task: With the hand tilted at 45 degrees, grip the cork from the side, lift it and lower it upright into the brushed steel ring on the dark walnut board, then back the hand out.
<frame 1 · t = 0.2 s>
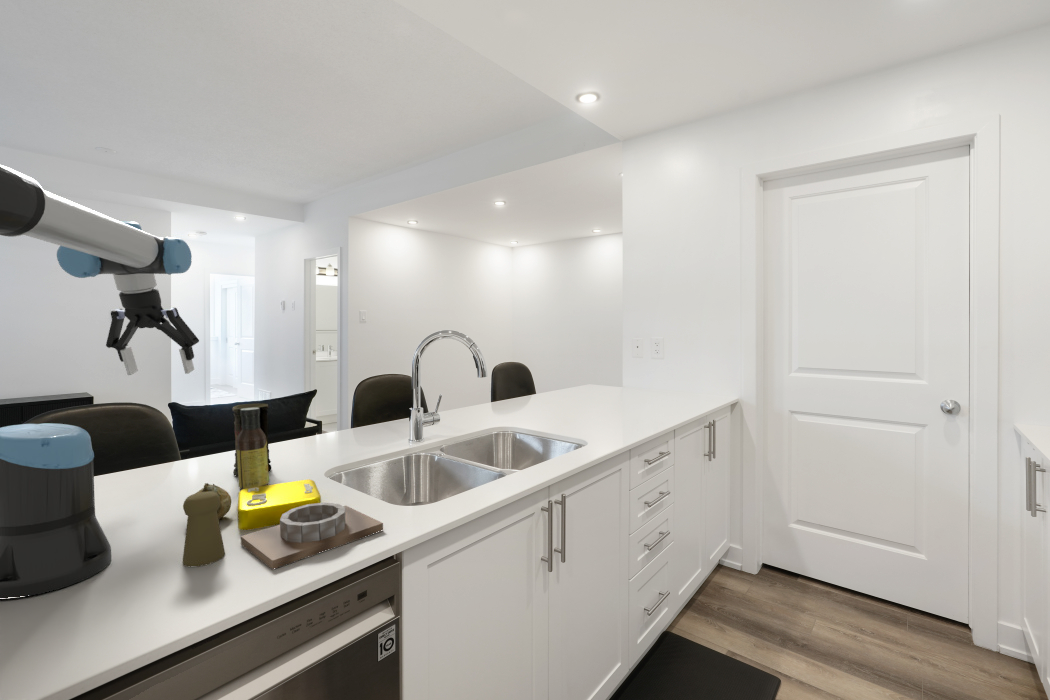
hand: (161, 372, 124), 28 cm above the worktop, tool tilted 20°, fingers open, 13 cm apart
ring stand: (314, 537, 91), on the worktop
cork: (204, 559, 83), on the worktop
onion: (210, 521, 100), on the worktop
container: (252, 473, 133), on the worktop
element tile: (279, 514, 104), on the worktop
sauce bottle: (254, 493, 116), on the worktop
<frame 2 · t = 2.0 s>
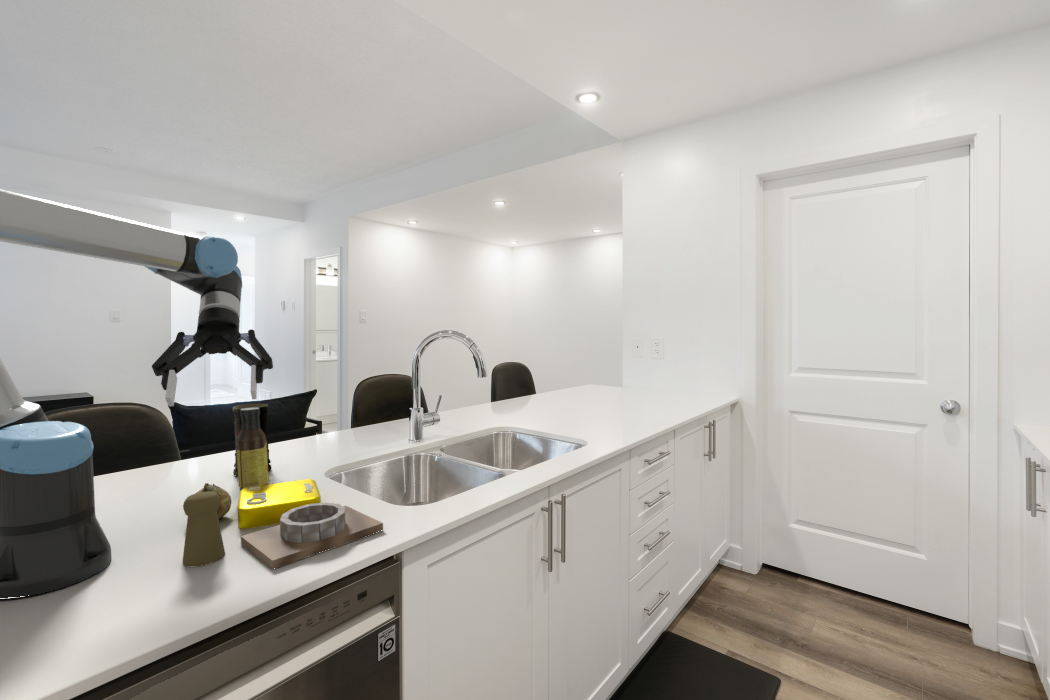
hand: (212, 398, 93), 25 cm above the worktop, tool tilted 45°, fingers open, 13 cm apart
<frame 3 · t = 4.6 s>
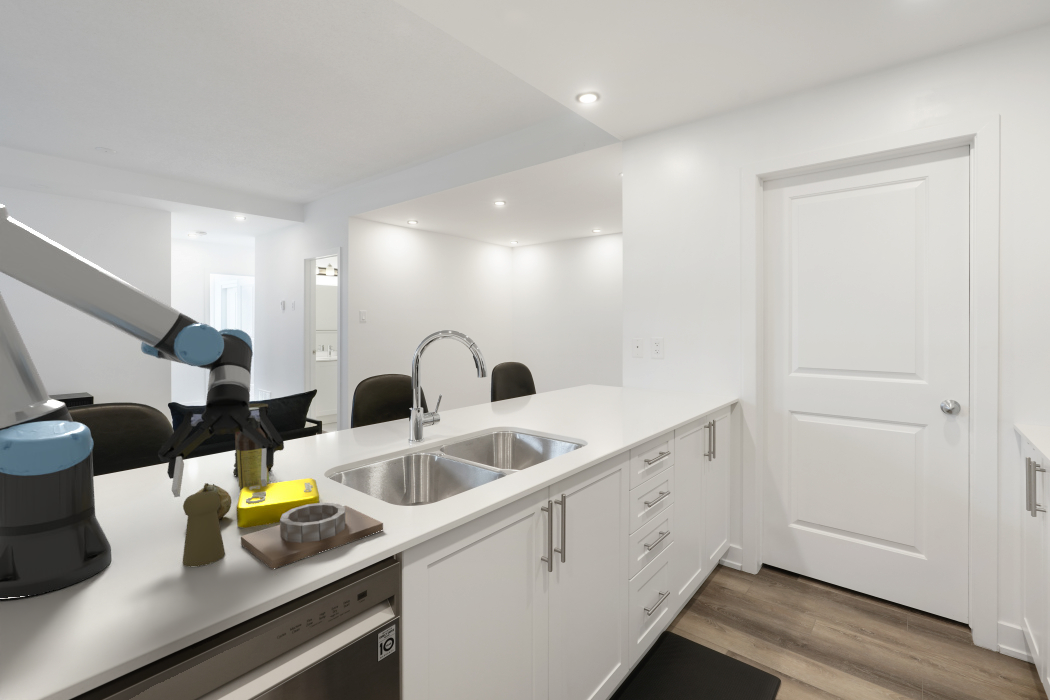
hand: (221, 488, 89), 10 cm above the worktop, tool tilted 45°, fingers open, 13 cm apart
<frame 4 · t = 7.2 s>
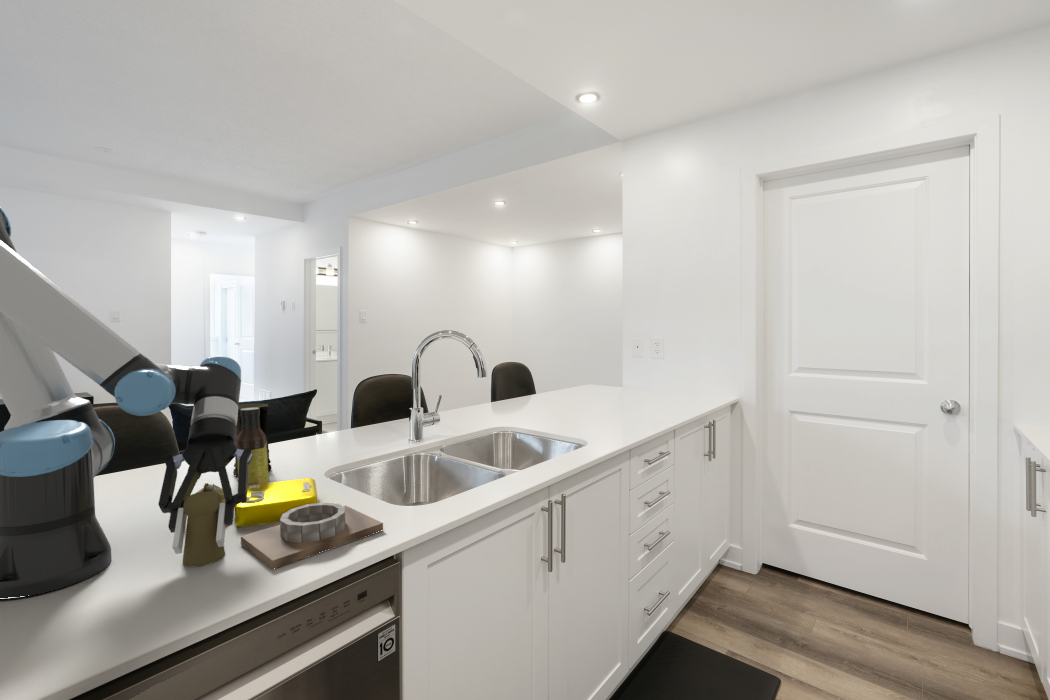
hand: (198, 546, 80), 4 cm above the worktop, tool tilted 45°, fingers closed on cork, 5 cm apart
cork: (204, 559, 83), on the worktop, touching gripper
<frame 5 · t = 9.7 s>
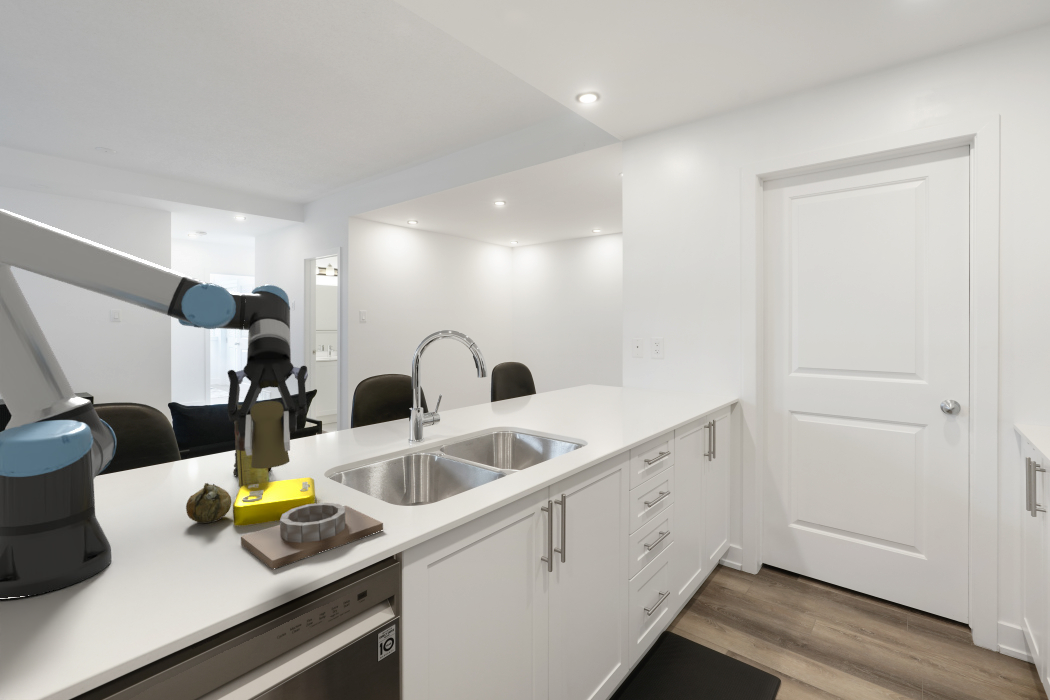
hand: (267, 448, 84), 18 cm above the worktop, tool tilted 45°, fingers closed on cork, 5 cm apart
cork: (270, 464, 88), point 14 cm above the worktop, touching gripper
when the fingers open (6 cm above the worktop, at t = 12.3 s): cork drops 1 cm, resting on ring stand.
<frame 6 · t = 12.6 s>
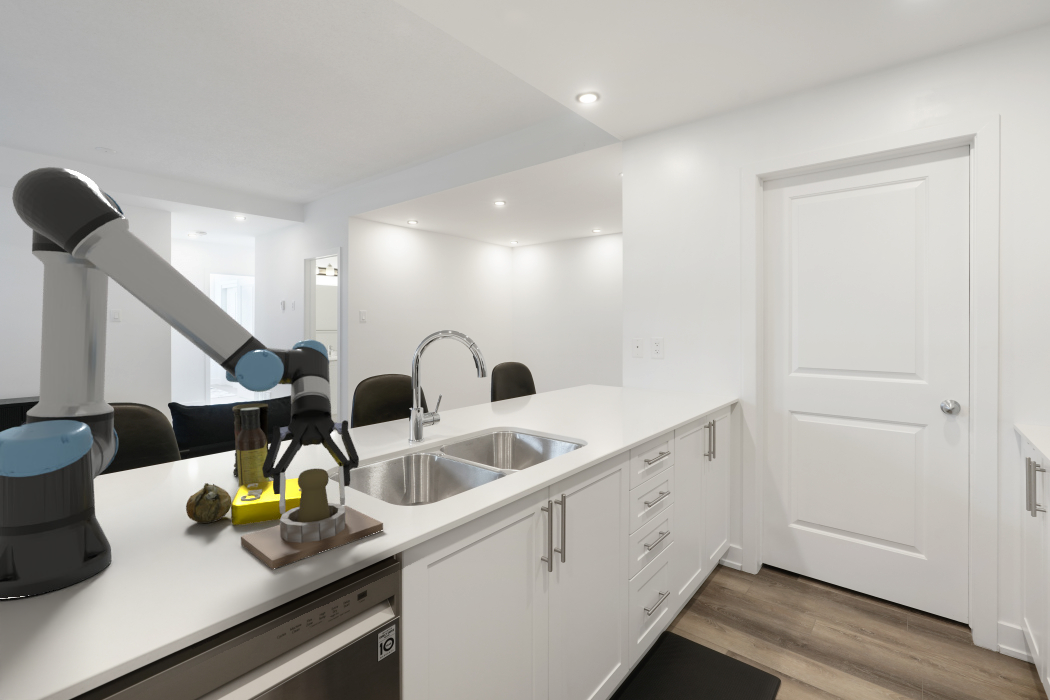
hand: (313, 505, 88), 7 cm above the worktop, tool tilted 45°, fingers open, 9 cm apart
cork: (314, 530, 91), point 1 cm above the worktop, touching ring stand
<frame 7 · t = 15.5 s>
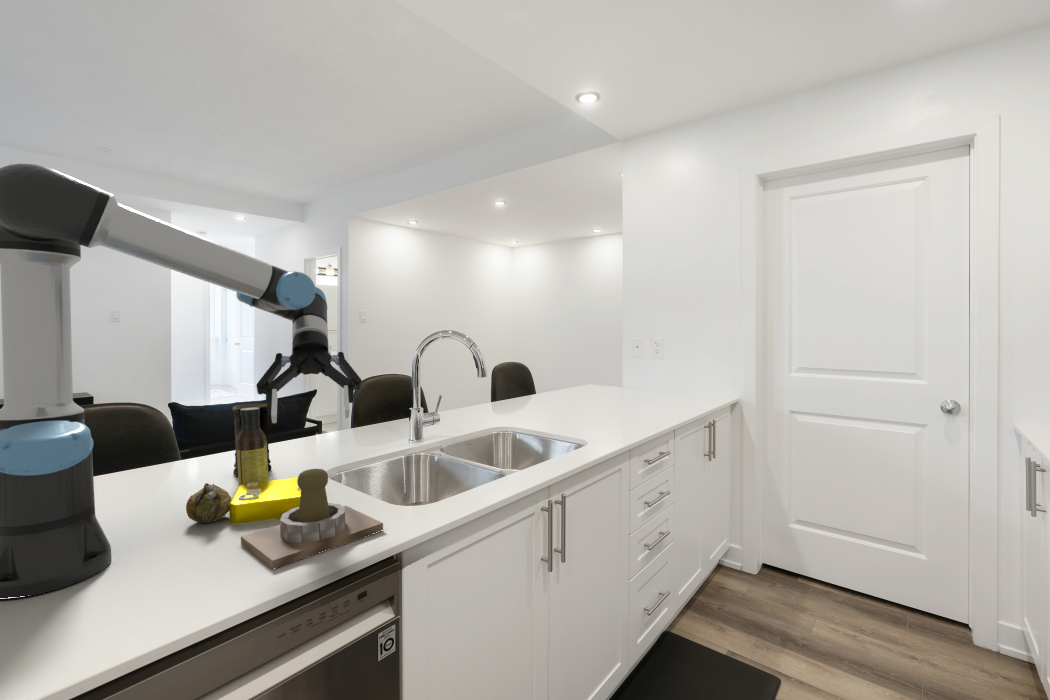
hand: (311, 416, 100), 21 cm above the worktop, tool tilted 45°, fingers open, 13 cm apart
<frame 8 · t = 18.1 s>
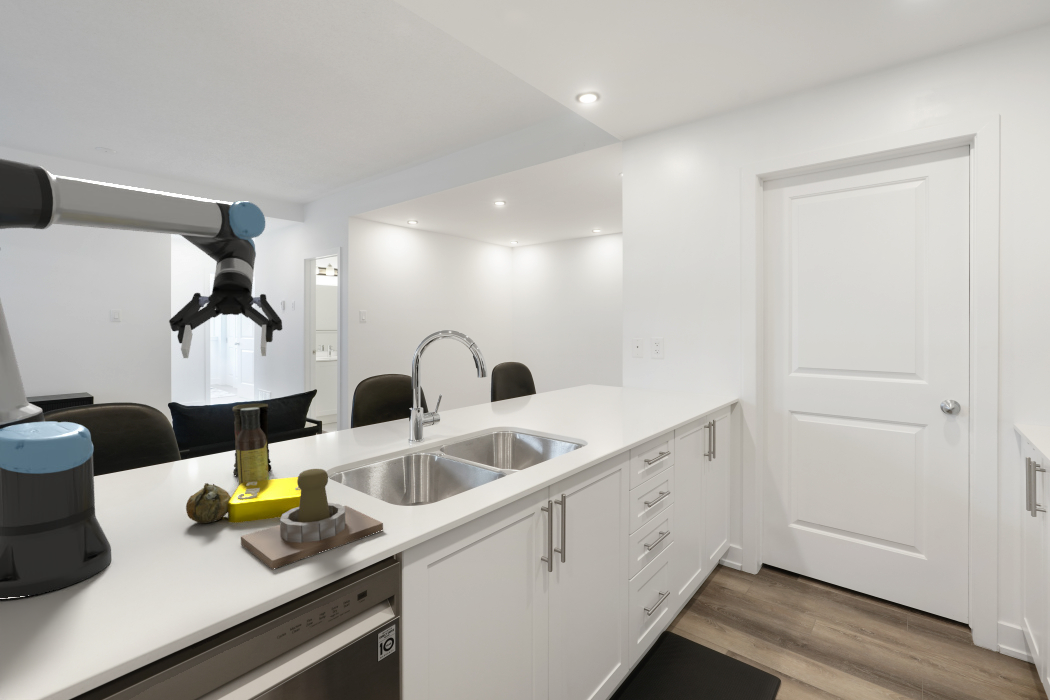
hand: (224, 352, 99), 34 cm above the worktop, tool tilted 45°, fingers open, 13 cm apart
at the end: cork 0.1 cm off-centre on the ring stand, point 1.3 cm above the ring stand's base; cork tilted 0°; the gripper is holding nothing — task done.
